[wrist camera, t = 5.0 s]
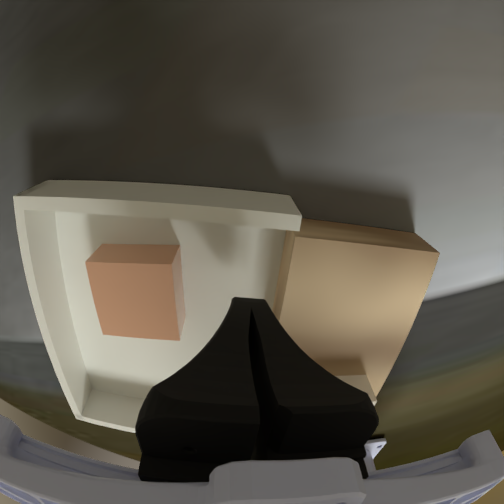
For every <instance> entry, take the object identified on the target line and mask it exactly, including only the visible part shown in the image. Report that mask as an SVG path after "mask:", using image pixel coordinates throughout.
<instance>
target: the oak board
mask: <svg viewBox="0 0 504 504" xmlns="http://www.w3.org/2000/svg"><path fill="white" fill-rule="evenodd" d="M439 254H440V253H439V252H438V251H437V250H436V249H434V248H433V247H432V246H431V245H429V244H428V243H427V242H426V241H425V240H423V239H422V238H421V237H419V236H418V235H417V234H416V233H411V232H404V231H397V230H390V229H383V228H376V227H369V226H361V225H354V224H346V223H338V222H330V221H322V220H313V219H305V218H302V219H301V225H300V231H290V230H286V233H285V239H284V245H283V251H282V257H281V263H280V269H279V275H278V281H277V286H276V292H275V298H274V303H273V309H272V312H273V313H274V315H275V316H276V318H277V319H278V321H279V322H280V324H281V325H282V326H283V328H284V329H285V331H286V332H287V333H288V334H289V336H290V337H291V338H292V339H293V340H294V342H295V343H296V344H297V345H298V346H299V347H300V348H301V349H302V350H303V351H304V352H305V353H306V354H307V355H308V356H309V357H310V358H311V359H313V360H314V361H315V362H316V363H317V364H319V365H320V366H321V367H323V368H324V369H325V370H327V371H328V372H330V373H331V374H333V375H334V376H348V375H367V377H368V380H369V382H370V385H371V387H372V390H373V392H374V394H375V397H376V396H377V395H378V393H379V391H380V389H381V387H382V386H383V384H384V382H385V380H386V378H387V376H388V374H389V372H390V370H391V369H392V367H393V365H394V363H395V361H396V359H397V357H398V355H399V353H400V351H401V348H402V346H403V344H404V342H405V340H406V338H407V336H408V333H409V331H410V329H411V327H412V324H413V322H414V320H415V318H416V315H417V313H418V310H419V308H420V306H421V303H422V301H423V298H424V296H425V293H426V290H427V288H428V285H429V282H430V280H431V277H432V274H433V271H434V269H435V266H436V263H437V260H438V257H439Z"/></svg>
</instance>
